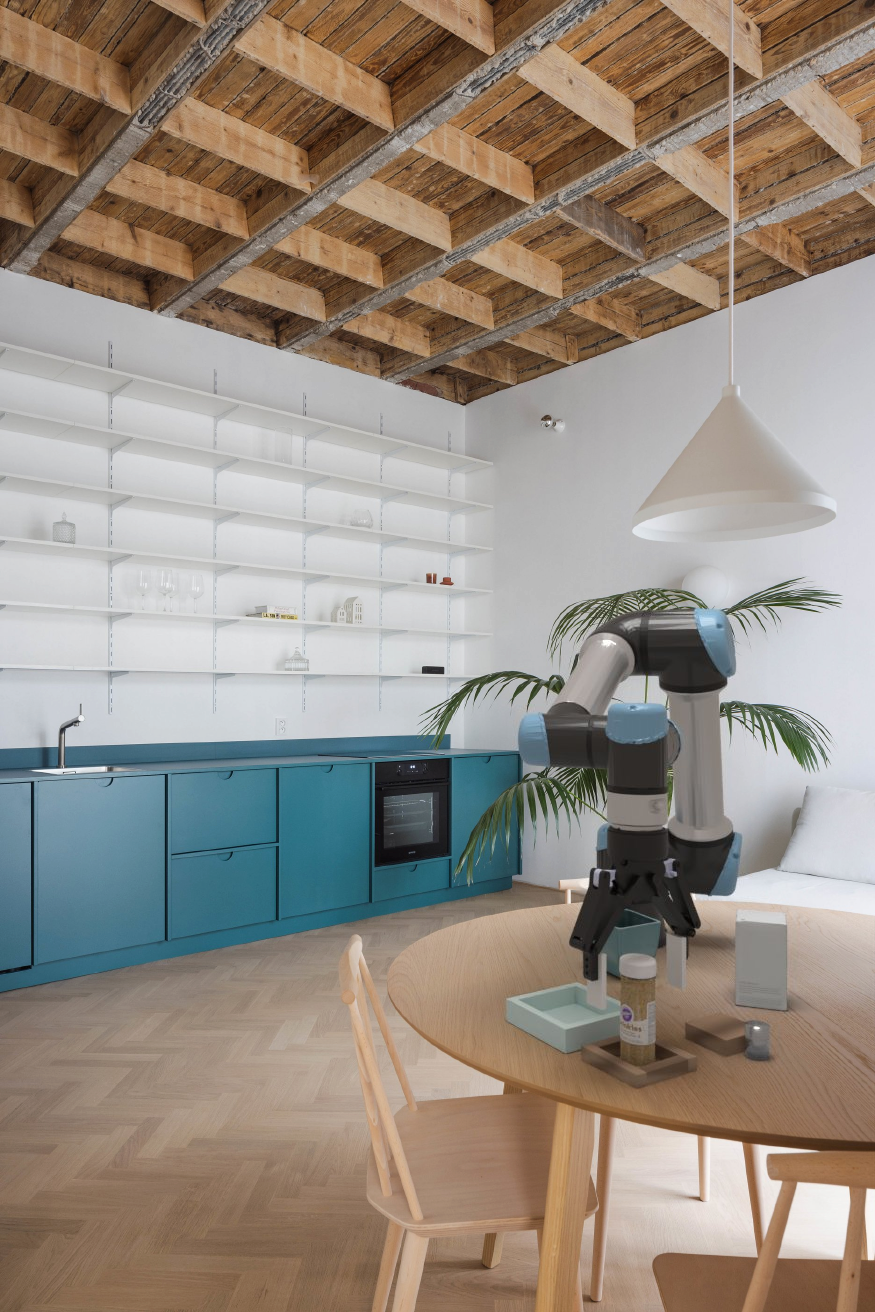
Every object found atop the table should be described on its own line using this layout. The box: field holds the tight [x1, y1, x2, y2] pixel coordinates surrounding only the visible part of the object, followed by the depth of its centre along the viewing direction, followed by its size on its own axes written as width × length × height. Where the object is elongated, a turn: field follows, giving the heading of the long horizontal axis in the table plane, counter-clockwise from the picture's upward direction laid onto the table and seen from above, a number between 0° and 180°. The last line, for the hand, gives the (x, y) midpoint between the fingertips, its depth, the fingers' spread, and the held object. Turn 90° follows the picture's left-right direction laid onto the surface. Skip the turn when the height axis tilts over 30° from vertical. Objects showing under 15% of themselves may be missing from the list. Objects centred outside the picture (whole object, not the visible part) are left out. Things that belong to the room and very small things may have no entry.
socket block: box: [580, 1035, 698, 1089], centre depth 113 cm, size 10×10×2 cm
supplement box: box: [734, 909, 788, 1012], centre depth 136 cm, size 7×7×13 cm
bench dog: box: [744, 1019, 771, 1062], centre depth 116 cm, size 3×3×4 cm
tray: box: [505, 982, 621, 1055], centre depth 126 cm, size 13×13×3 cm
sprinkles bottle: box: [619, 953, 658, 1068], centre depth 113 cm, size 5×5×14 cm
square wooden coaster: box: [684, 1011, 746, 1058], centre depth 121 cm, size 7×7×2 cm
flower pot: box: [593, 909, 661, 979], centre depth 148 cm, size 9×9×9 cm
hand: (637, 996), depth 113 cm, fingers open, 13 cm apart
